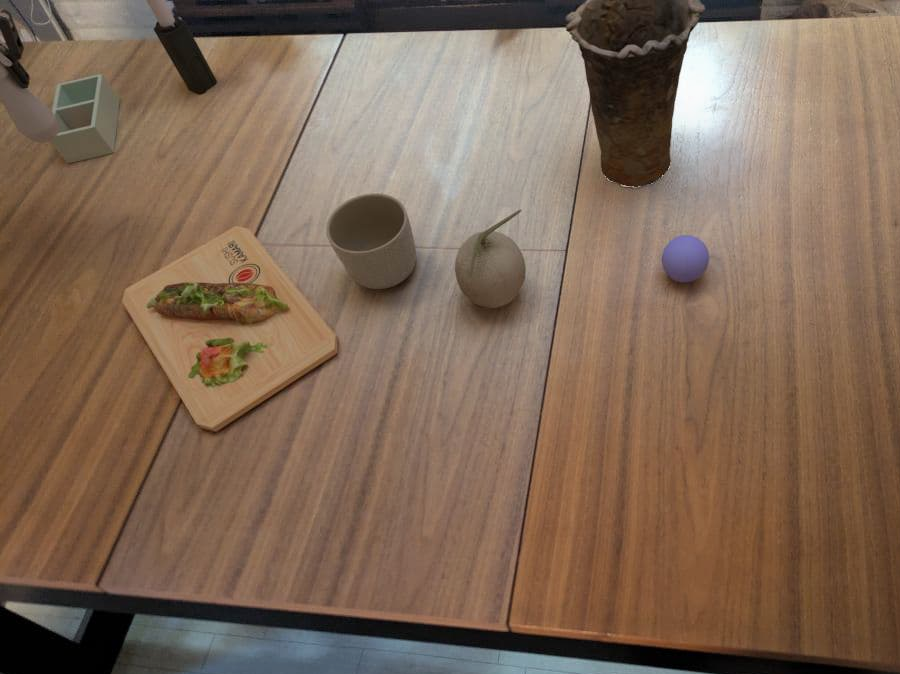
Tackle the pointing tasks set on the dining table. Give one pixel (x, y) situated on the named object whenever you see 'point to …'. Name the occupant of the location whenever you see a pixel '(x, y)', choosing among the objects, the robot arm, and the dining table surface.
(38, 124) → the salt shaker
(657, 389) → the dining table surface
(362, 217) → the planter
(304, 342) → the cutting board
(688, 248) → the sphere
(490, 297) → the fruit
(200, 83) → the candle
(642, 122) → the vase
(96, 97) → the box
